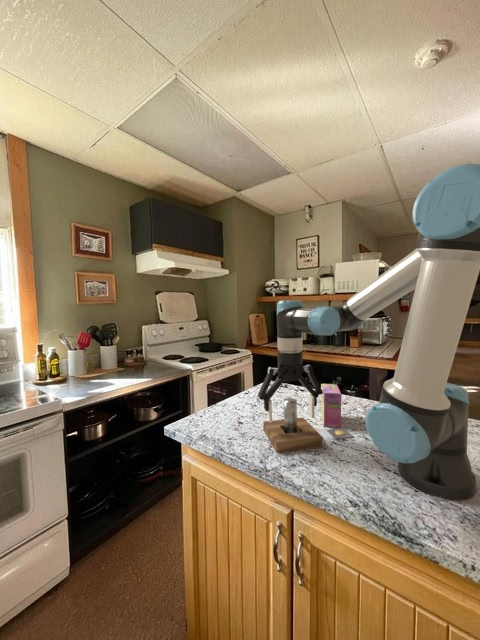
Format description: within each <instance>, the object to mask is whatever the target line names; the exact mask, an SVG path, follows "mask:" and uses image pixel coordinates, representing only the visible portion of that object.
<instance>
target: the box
mask: <svg viewBox="0 0 480 640" xmlns="http://www.w3.org/2000/svg"><path fill="white" fill-rule="evenodd" d="M320 387H321V389H322V391H323V393H322V394H320V414H321V415H320V416H321V419H322V423H323V427H325V428H327V427H328V428H337V429H339V428H342V393H341V389H339V386H338V384H336V383H335V384H334V383H321V384H320Z"/></svg>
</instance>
